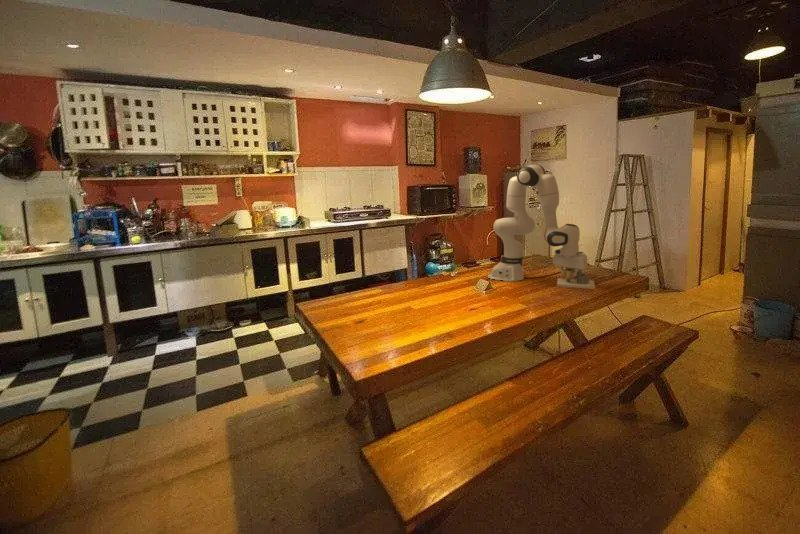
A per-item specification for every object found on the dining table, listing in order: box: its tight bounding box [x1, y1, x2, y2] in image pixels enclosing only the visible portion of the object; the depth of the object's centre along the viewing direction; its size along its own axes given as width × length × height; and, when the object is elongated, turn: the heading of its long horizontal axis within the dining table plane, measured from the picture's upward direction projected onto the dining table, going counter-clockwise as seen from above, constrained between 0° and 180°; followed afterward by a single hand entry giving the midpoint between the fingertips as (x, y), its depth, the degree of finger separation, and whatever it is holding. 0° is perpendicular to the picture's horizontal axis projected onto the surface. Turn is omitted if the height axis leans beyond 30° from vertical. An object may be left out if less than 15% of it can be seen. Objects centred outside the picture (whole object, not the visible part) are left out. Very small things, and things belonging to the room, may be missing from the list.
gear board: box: [556, 272, 596, 290], centre depth 234 cm, size 20×13×7 cm, turn 67°
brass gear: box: [562, 268, 576, 279], centre depth 234 cm, size 6×6×4 cm
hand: (568, 274), depth 234 cm, fingers closed on brass gear, 6 cm apart
